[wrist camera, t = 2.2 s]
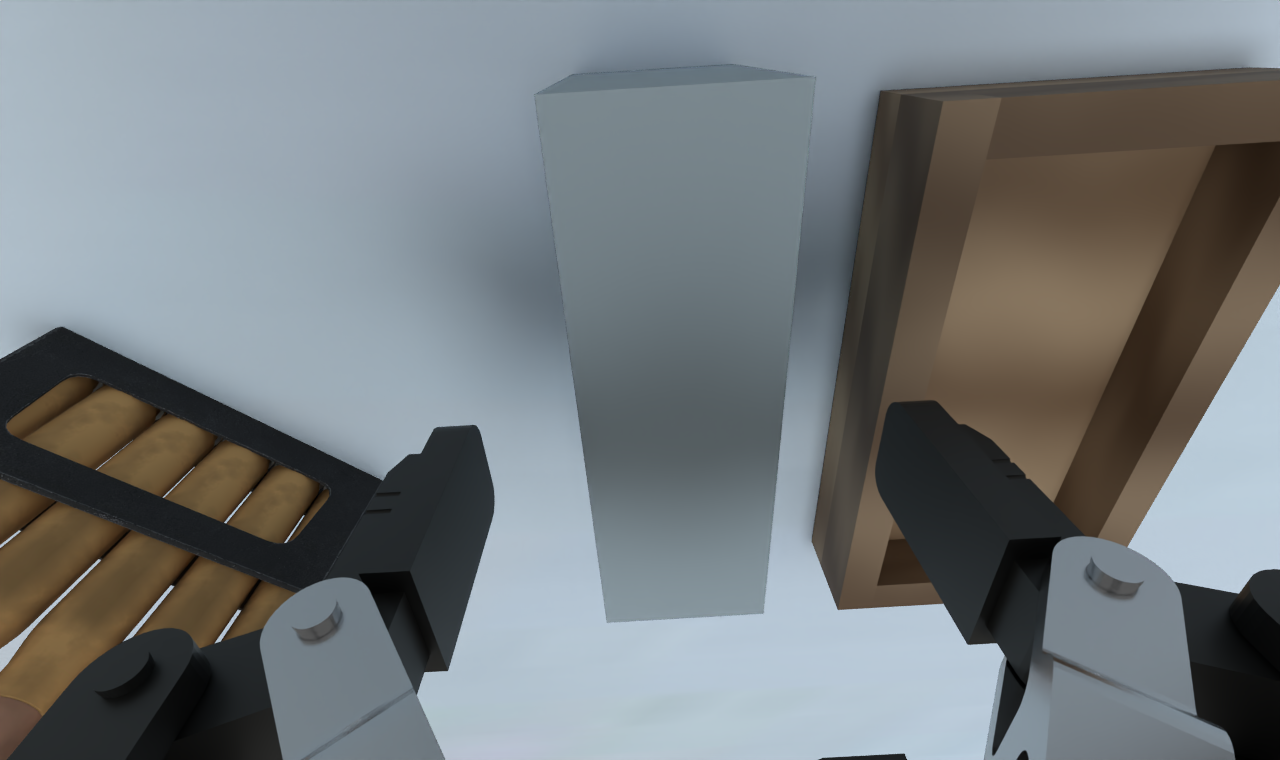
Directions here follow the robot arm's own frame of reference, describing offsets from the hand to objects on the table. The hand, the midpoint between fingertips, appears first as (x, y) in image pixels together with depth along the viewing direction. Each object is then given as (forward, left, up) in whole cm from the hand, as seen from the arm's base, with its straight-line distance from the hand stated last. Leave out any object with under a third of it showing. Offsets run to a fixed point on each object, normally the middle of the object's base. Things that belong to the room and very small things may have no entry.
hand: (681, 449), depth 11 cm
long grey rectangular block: (0, 0, -7) cm, 7 cm away
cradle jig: (+3, +10, -7) cm, 13 cm away
